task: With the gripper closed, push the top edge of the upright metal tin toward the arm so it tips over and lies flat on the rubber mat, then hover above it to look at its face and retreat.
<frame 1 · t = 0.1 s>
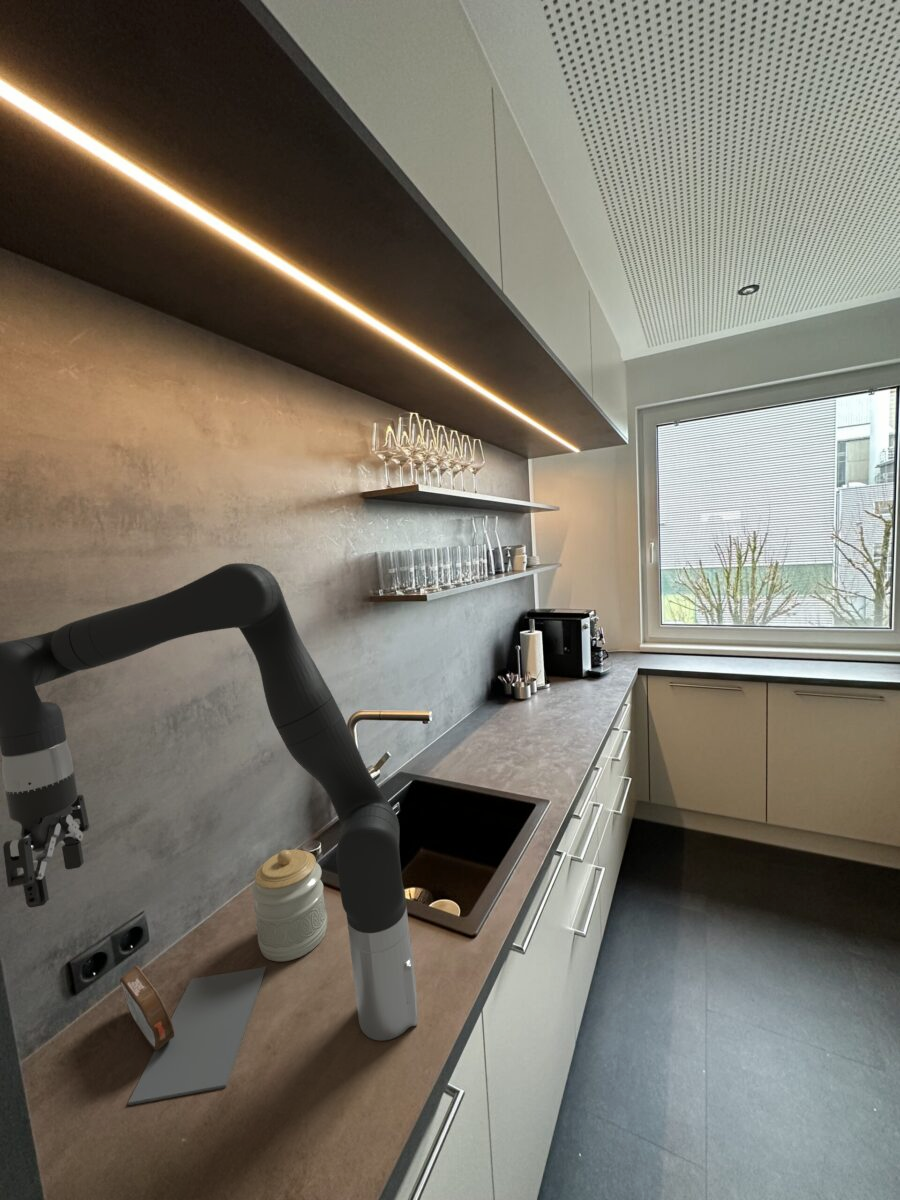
hand: (57, 884, 70), 29 cm above the worktop, fingers open, 8 cm apart
jar: (294, 937, 95), on the worktop
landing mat: (206, 1027, 77), on the worktop
tin: (151, 1031, 77), on the worktop, touching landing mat
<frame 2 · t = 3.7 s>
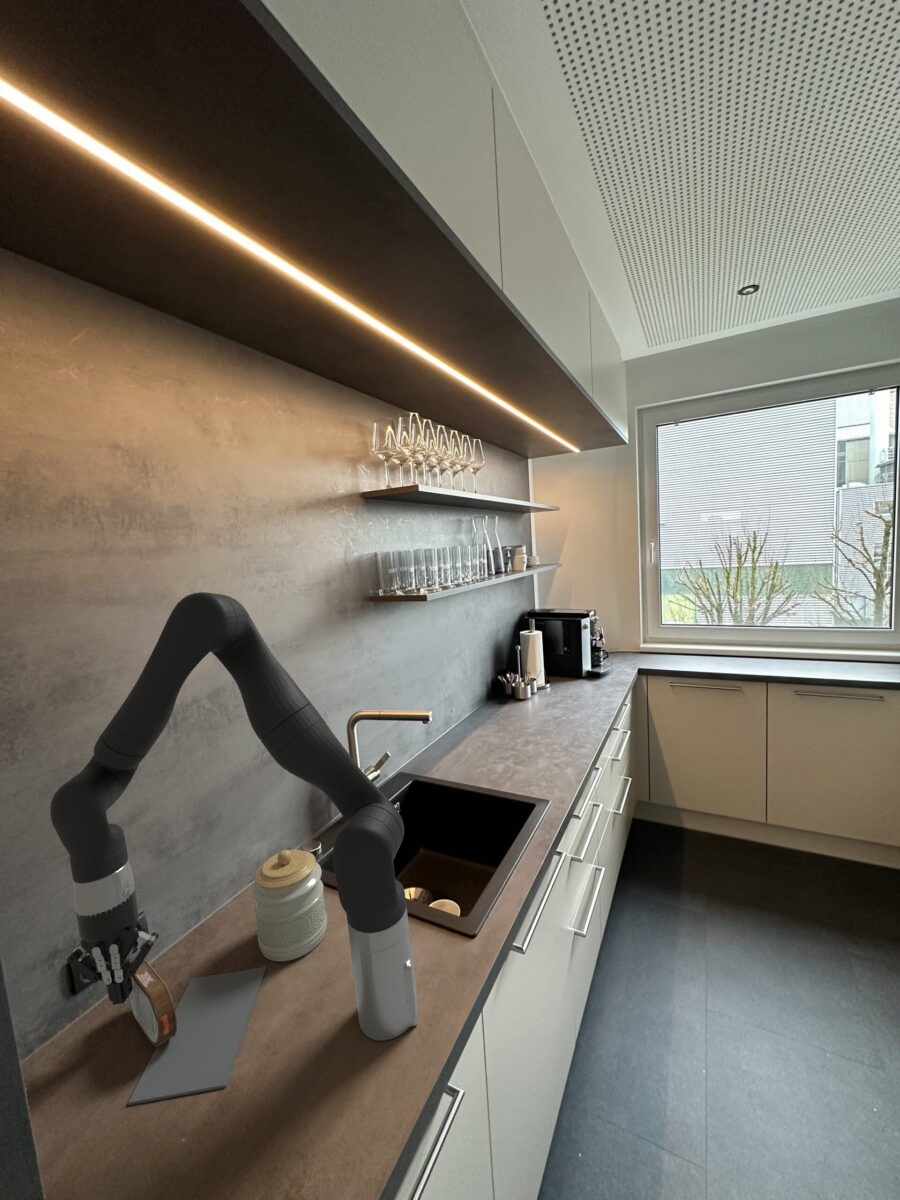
hand: (121, 999, 76), 6 cm above the worktop, fingers closed
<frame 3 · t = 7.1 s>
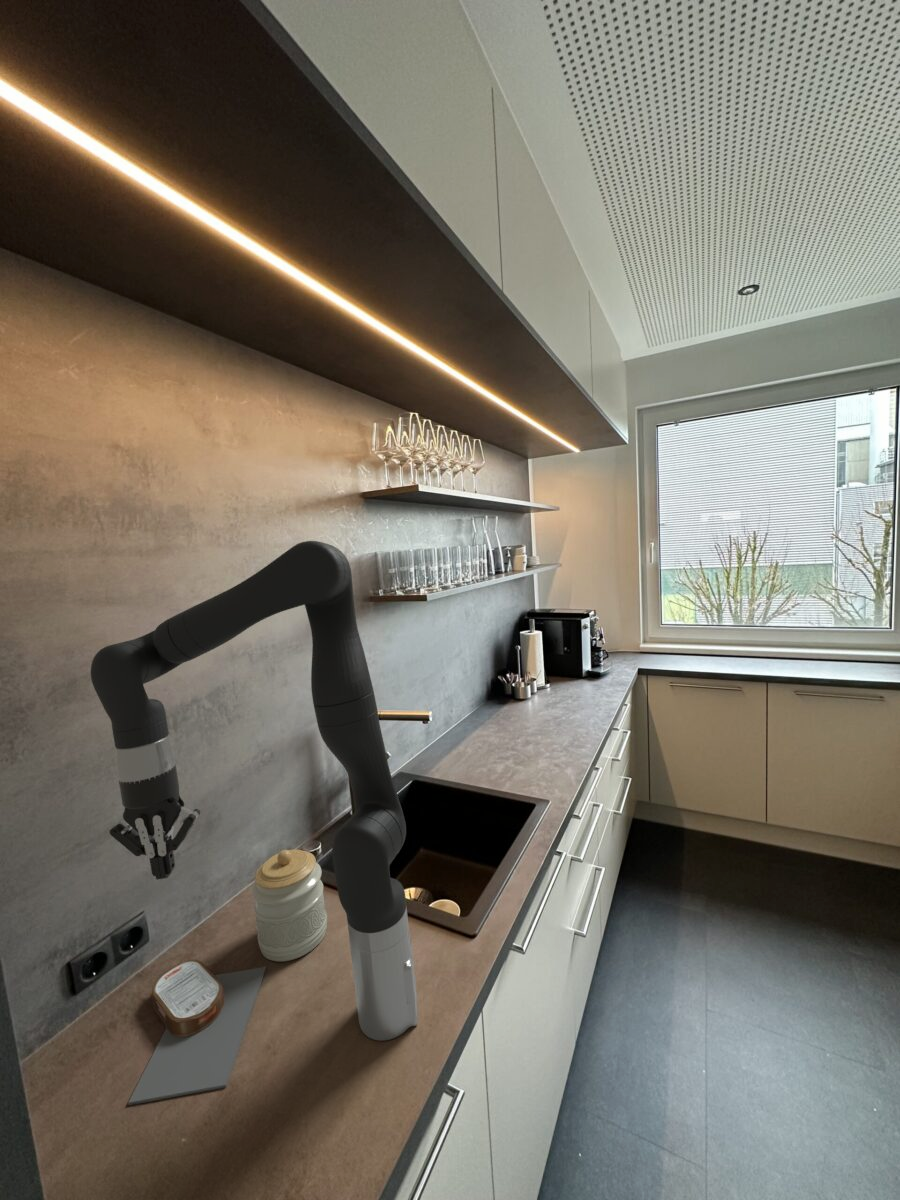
hand: (164, 875, 75), 26 cm above the worktop, fingers closed
tin: (159, 1012, 78), point 2 cm above the worktop, touching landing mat
everything else where it was.
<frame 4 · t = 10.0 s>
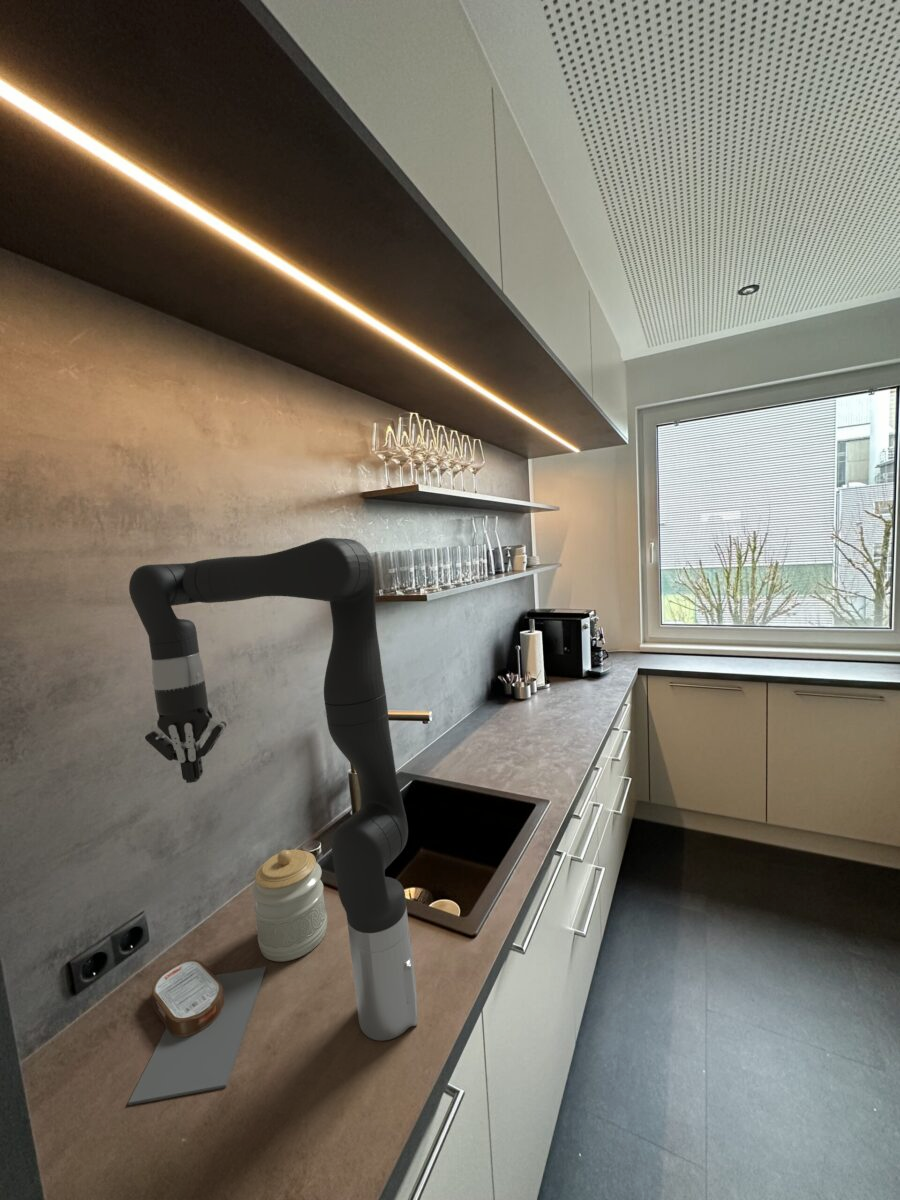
hand: (193, 780, 83), 37 cm above the worktop, fingers closed
nothing on the worktop moved.
at the end: tin tilted 94°; tin inside the target area (4.1 cm from its centre), point 2.0 cm above the worktop; the gripper is holding nothing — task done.
